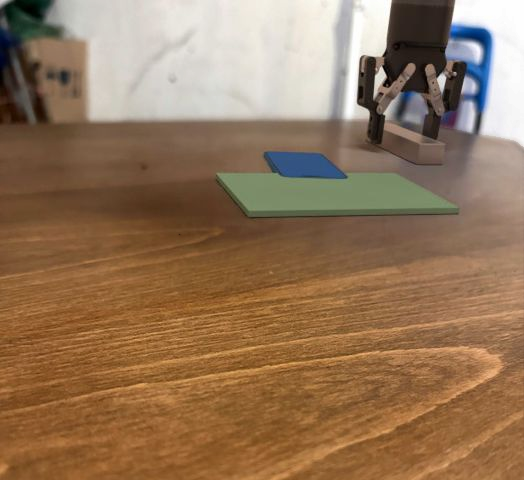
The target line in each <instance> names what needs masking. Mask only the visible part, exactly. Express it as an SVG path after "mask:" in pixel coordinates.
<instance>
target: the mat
mask: <svg viewBox="0 0 524 480" xmlns="http://www.w3.org/2000/svg"><path fill="white" fill-rule="evenodd" d="M343 173H344V174H346V175H347V176H348V178H347V179H319V178H289V177H282V176H280V175H279V174H278V173H273V172H215V180H216V181H217V182H218V183H219V184H220V186H221V187H222V188H223V189H224V190H225V191H226V193H227V194H228V195H229V197H231V198H232V200H233V201H234V202H235V203H236V204H237V206H238V207H239V208H240V209H241V211H243V213H244V214H245V215H246V217H248V218H284V217H285V218H287V217H289V218H291V217H294V218H295V217H341V216H346V217H347V216H348V217H349V216H351V217H352V216H397V215H398V216H401V215H403V216H404V215H458V214H459V212H460V207H459V206H457V205H456V204H454V203H452V202H451V201H449V200H446V199H444V198H442V197H441V196H439V195H437V194H435V193H433V192H432V191H429V190H428V189H426V188H423V187H421V186H420V185H418V184H417V183H414V182H412V181H411V180H409V179H407V178H405V177H403V176H402V175H400V174H398V173H396V172H343Z"/></svg>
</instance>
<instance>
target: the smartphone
mask: <svg viewBox="0 0 524 480" xmlns="http://www.w3.org/2000/svg"><path fill="white" fill-rule="evenodd" d="M263 158H264V159H265V161H266V163H267V165H268V166H269V168H270V170H271V171H272V173H278V174H279V175H280V176H282V177H289V178H319V179H347V178H348V176H347V175H346V174H344V173H345V172H343V170H341V169H340V168H339V167H338V166H336V164H335V163H333V162H332V161H331V160H330V159H329V158H327V157H326V156H325V155H324V154H322V153H318V152H300V151H296V152H295V151H274V150H273V151H272V150H271V151H270V150H269V151H264V152H263Z"/></svg>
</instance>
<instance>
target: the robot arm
mask: <svg viewBox="0 0 524 480" xmlns="http://www.w3.org/2000/svg"><path fill="white" fill-rule="evenodd" d="M390 2H391V3H390V9H389V18H388V25H387V32H386V38H385V39H386V47H385V50H384V52H383V54H382V55H381V56H372V55H367V54H363V55H361V56H360V57H359V60H358V61H359V62H358V73H357V75H358V76H357V93H356V104H357V105H358V106H359V107H362V108H364V109H366V110H368V112H369V117H368V122H369V124H368V123H367V124H368V132H367V131H366V132H367V135H368V138H370V141H371V144H372V143H373V144H372V145H374V144H375V145H374V146H376V145H381V143H382V138H383V131H384V123H386V114H385V112H386V111H387V109H388V108H389V106H390V105H391V103H392V101H394V100H395V99H396V98H397V97H398V96H399V94H400V93H411V92H414V93H418V94H419V95H420V97H421V98H422V99H423V102H424V104H425V107H426V110H427V113H425V114H424V120H423V126H422V132H421V135H423V136H426V137H428V138H431V139H434V140H436V141H438V140H437V139H438V137H439V132H440V126H441V121H442V117H443V116H444V114H446V113H449V112H455V111H456V110H457V109H458V108H459V104H460V98H461V96H462V90H463V85H464V82H465V77H466V74H467V69H468V64H467V63H468V62H466V61H464V60H459V59H452V60H451V59H447V55H446V50H447V47H448V44H449V40H450V35H451V29H452V23H453V17H454V12H455V6H456V0H391V1H390ZM381 68H382V70H383V72H384V73H385V77H384V79H383V80H382V81H381V83H380V85H379V86H378V87H377V90H376V91H377V92H376V94H375V84H376V76H377V75H378V74H379V72H380V69H381ZM442 73H444V77H445V81H444V87H443V90H442V91H441V87H440V84H439V81H438V79H439V77H440V76H441V75H442Z"/></svg>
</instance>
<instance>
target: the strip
mask: <svg viewBox="0 0 524 480" xmlns="http://www.w3.org/2000/svg"><path fill="white" fill-rule="evenodd" d="M368 124H369V121H367V124H366V125H367V126H366V133H365V141H366V142H368V143H371V141H370V138H368V135H367V132H368ZM371 144H372V145H374V146H377V147H378V148H381V149H383V150H385V151H387V152H389V153H391V154H393V155H394V156H398V157H400V158H402V159H403V160H406V161H408V162H410V163H412V164H415V165H417V166H421V165H423V166H424V165H425V166H428V165H429V166H442V165H443V161H444V156H445V150H446V143H445V142H444V143H443V142H441V141H439V140H434V139H431V138H428V137H426V136H423V135H422V133H418V132H415V131H412V130H410V129H407V128H405V127H402V126H400V125H398V124H394V123H392V122H385V123H384V131H383V138H382V143H381V145H375V144H373V143H371Z"/></svg>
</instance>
